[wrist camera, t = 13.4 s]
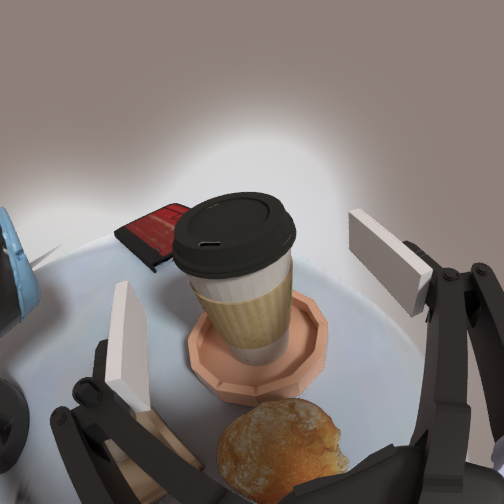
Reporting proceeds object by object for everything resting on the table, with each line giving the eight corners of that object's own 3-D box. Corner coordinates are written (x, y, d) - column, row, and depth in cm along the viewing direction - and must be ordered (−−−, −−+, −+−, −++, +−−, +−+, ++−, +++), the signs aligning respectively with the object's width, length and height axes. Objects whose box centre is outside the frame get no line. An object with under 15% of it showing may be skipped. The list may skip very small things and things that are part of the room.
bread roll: (302, 417, 28) (270, 363, 26) (379, 456, 19) (356, 399, 17) (228, 478, 23) (181, 431, 22) (290, 540, 14) (239, 504, 13)
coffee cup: (312, 311, 34) (302, 186, 25) (297, 387, 26) (279, 258, 18) (230, 305, 37) (196, 191, 28) (200, 372, 29) (141, 254, 21)
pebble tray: (87, 427, 25) (69, 413, 24) (138, 390, 29) (124, 373, 28) (140, 513, 18) (120, 506, 16) (204, 466, 22) (191, 455, 20)
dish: (173, 354, 33) (164, 341, 32) (259, 286, 40) (255, 271, 39) (260, 433, 24) (255, 423, 22) (352, 333, 31) (353, 318, 29)
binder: (150, 264, 46) (112, 230, 61) (155, 276, 48) (116, 239, 62) (228, 220, 55) (173, 199, 69) (230, 232, 56) (175, 208, 70)
